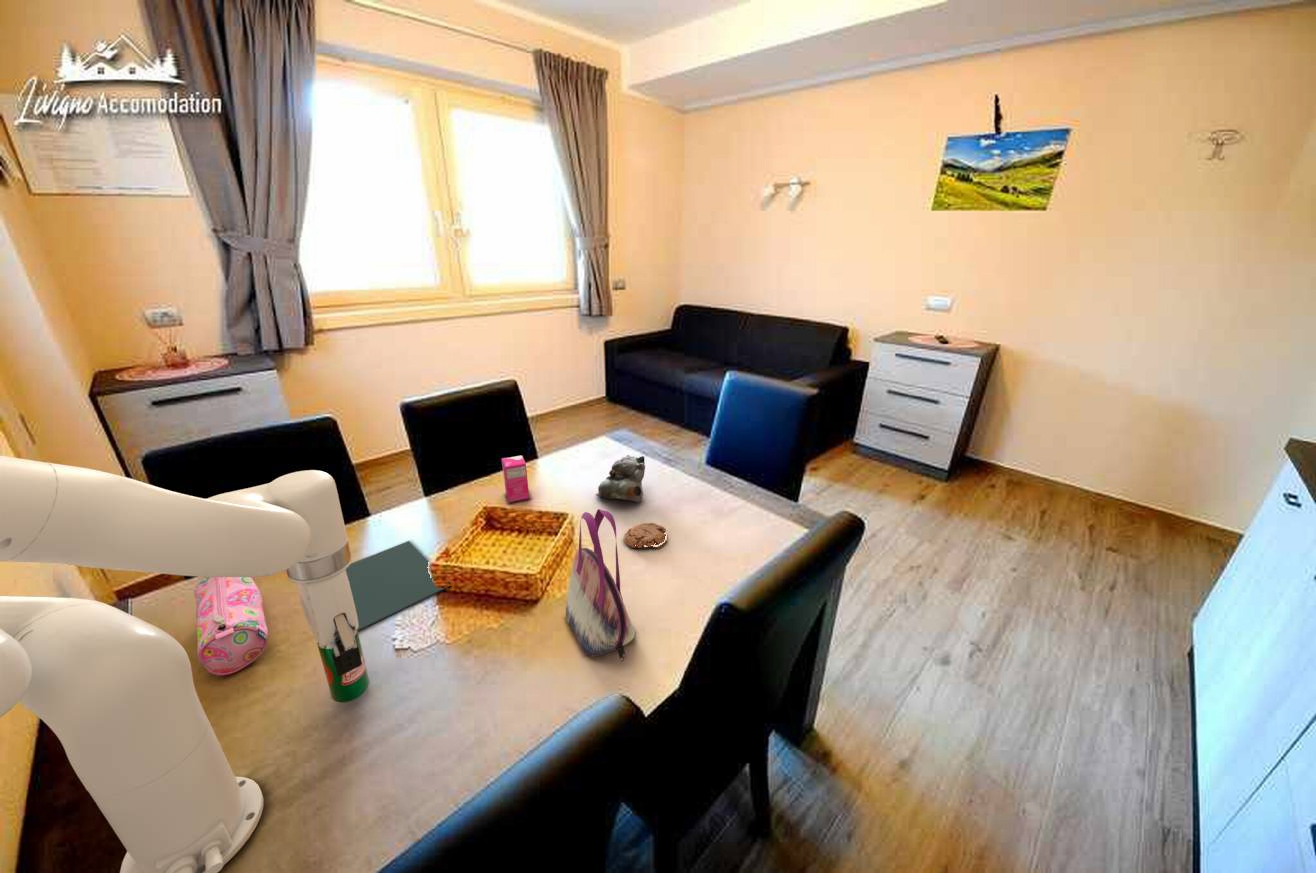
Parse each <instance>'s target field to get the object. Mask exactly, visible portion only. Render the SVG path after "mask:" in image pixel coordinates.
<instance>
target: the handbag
mask: <svg viewBox="0 0 1316 873" xmlns="http://www.w3.org/2000/svg"><path fill="white" fill-rule="evenodd" d="M604 518H606V520H607V521H608V522H609V523H610V525H611V527H612V529H613V533H614V538H615V539H617V525H616V521H615V518H614V517H613V515H612V514H611V512H609V511H608V510H605V509H604V510H603V509H600V508H597V510H596V513H595V515H594V516H593V515H592V514H591V513H590V512H587V511H585V512H583V513H582V515H581V518H580V522H579V534H578V535H579V537H578V549H577V550H576V552H575V554H574V556H573V561H572V566H571V571H570V578H569V582H568V583H569V584H568V591H567V598H566V603H565V604H566V606H565V616H566V621H567V623H568V625H569V627H570V629H571V630H572V633H573V634H574V636H575V638H576V640H577V642H578V643H579V646H580V647H581V649H582V651H583V653H584V654H585V655H586V656H587V657H598V656H603V655H606V654H608V653H611V652H614V651H617V652H618V656H619V660H620V662H621V663H623V662H625V659H626V658H627V654H626V652H625V648H624V646H625V645H627V644H629V643H631V642H632V641H633V640H634V639H635V637H636V633H635V628H634V626H633V623H632V621H631V618H630V617H629V614H628V611H627V609H626V605H625V603H624V600H623V596H622V591H621V576H620V566H619V554H618V553H619V552H618V544H617V542H615V579H614V578H613V576H612V574H611V571H610V570H609V568H608V567H607V566H606V564H605V562H604V555H603V551H602V546H601V542H600V537H599V529H600V526H601V524H602V522H603V520H604ZM582 519H583V520H584V521H585V523H586V525H587V529H588V532H589V537H590V539H591V542H592V545H593V550H592V549H590V548H589V547H582V546H583V545H582V526H581V525H582Z"/></svg>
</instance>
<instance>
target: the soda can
mask: <svg viewBox="0 0 1316 873" xmlns="http://www.w3.org/2000/svg"><path fill="white" fill-rule="evenodd" d="M336 632H338V631H337V630H335V633H336ZM353 633H354V636H355V639H356V642H357V644H358V648H359V652H360V657H361V661H362V664H361V666H359V667H357V668H355V669H353V670H351V671H349V672H347V673H345V674H343V675H341V676H338V675H337V673H336V670H335V666H334V662H333V658H332V654H333V653H334V652H333V648H332V645H331V643H328V644H326V645H325V646H324V645H320V644H319V643H318V642H317V648H318V652H319V656H320V659H321V663H322V666H323V671H324V674H325V678H326V681H327V685H328V688H329V693H330V696H331V699H332V700H333V701H334V702H335V703H340V704H346V703H351V702H353V701H355V700H357V699H359V698H360V697H361V696H363V695H364V694H365V693H366V691H367V689H369V686H370V678H369V674H368V669H367V666H366V661H365V656H364V653H363V648H362V644H361V639H360V635H359V631H358V630H356V631H354V630H353ZM336 642H337V646H339V645H340V644H341V639H340V638H339V639H336Z"/></svg>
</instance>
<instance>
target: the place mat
mask: <svg viewBox="0 0 1316 873" xmlns="http://www.w3.org/2000/svg"><path fill="white" fill-rule="evenodd" d="M428 562H430V561H429V560H428V559H427V558H426V557H425V556H424V555H423V554H422V553H421V552H420V551H419V550H418V549H417V548H416V547H415V546H414V544H412V543H411V541H409V540H407V541H405V542H402V543H400V544H398V545H395V546H391V547H390V548H388V549H385V550H382V551H380V552H378V553H377V552H376V553H375V554H372V555H369V556H367V557H365V558H362V559H360V560H357V561H354V562H351V564H350V565H349V566H348V568H347V569H345V570H346V573H347V577H348V581H349V583H350V588H351V592H352V596H353V600H354V604H355V608H356V613H357V618H358V625H359V627H358V629H357V630H358V632H361V631H363V630H364V629H367V628H369V627H370V626H373V625H375V624H378V623H379V622H381V621H383V620H385V619H387V618H389V617H391V616H393V615H395V614H397V613H400V612H402V611H403V610H406V609H407V608H410V607H411V606H414V605H416V604H418V603H420V602H422V601H424V600H426V599H428V598H430V597H432V596H435V595H437V594H439V593H440V592H442V591H443V592H444V590H447V589H448V588H441V587H440V588H439V587H436V586H435V585H434V583H433V581H432V578H430V574H429V573H428V568H427V567H428Z"/></svg>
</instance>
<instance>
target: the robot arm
mask: <svg viewBox="0 0 1316 873" xmlns="http://www.w3.org/2000/svg"><path fill="white" fill-rule="evenodd" d="M0 562H4V563H5V562H9V563H16V562H18V563H40V564H41V563H42V564H43V563H44V564H60V565H61V564H62V565H70V566H75V567H76V566H77V567H84V568H91V569H92V568H93V569H101V570H117V571H129V572H140V573H141V572H142V573H152V574H162V575H172V576H185V577H200V578H207V577H254V578H263V577H270V576H273V575H277V574H280V573H283V572H285V574H286V577H287V579H288V580H289V581H290V582H291V583H293V584H296V587H297V590H298V596H299V600H300V605H301V609H302V613H303V616H304V619H305V621H306V623H307V625H308V627H309V629H310V631H311V633H312V634H313V636H314V638H315V640H316V641H317V643H319V644H320V645H324V646H325V645H326V644H328V643H331V645H332V648H333V652H334V653H333V654H332V658H333V662H334V666H335V670H336V673H337V675H338V676H341V675H343V674H345V673H347V672H349V671H351V670H353V669H355V668H357V667H359V666H361V664H362V661H361V657H360V652H359V648H358V644H357V642H356V639H355V636H354V633H353V630H354V631H356V630H357V629H358V627H359V625H358V618H357V613H356V608H355V604H354V600H353V596H352V592H351V588H350V583H349V581H348V577H347V573H346V570H345V569H347V568H348V566H349V565H350V564H352V563H353V557H352V553H351V548H350V544H349V539H348V534H347V529H346V525H345V521H344V515H343V511H342V507H341V503H340V498H339V493H338V489H337V484H336V481H335V479H334V478H333V476H332V475H331V474H329V473H328V472H325V471H322V470H316V469H309V470H307V469H306V470H299V471H294V472H290V473H287V474H284V475H282V476H279V477H277V478H275V479H274V480H272V481H271V482H269V483H268V482H267V483H264V484H260V485H256V486H255V485H254V486H252V487H248V488H247V487H246V488H243V489H237V490H233V491H229V492H228V491H227V492H224V493H219V494H216V495H213V496H210V497H208V498H203V497H198V496H193V495H189V494H185V493H181V492H177V491H172V490H169V489H165V488H162V487H158V486H155V485H153V484H149V483H145V482H143V481H141V480H140V481H139V480H137V479H134V478H131V477H126V476H123V475H118V474H115V473H111V472H106V471H102V470H98V469H92V468H88V467H82V466H75V465H67V464H61V463H53V462H47V461H37V460H33V459H27V458H26V459H25V458H19V457H12V456H7V455H1V454H0ZM335 630H337V631H338V632H336V633H335ZM339 638H340V639H341V644H340V645H339V646H337V642H336V639H339ZM18 703H19V704H20V705H21V706H22V707H24V708H25V709H26V710H28V711H29V712H31V713H32V714H34V715H35V716H36V717H38V718H39V719H40V720H42V722H43V723H45V724H46V725H47V727H48V728H49V729H50V730H51V731H52V732H53V734H55V736H56V737H57V739H58V740H59V741H60V743H61V746H62V747H63V749H64V751H65V752H64V753H65V754H66V757H67V759H68V761H69V764H70V765H71V767H72V769H73V771H74V773H75V774H76V776H77V777H78V779H79V781H80V782H81V783H82V785H83V786H84V789H85V790H86V791H87V792H88V793H89V795H90V797H91V798H92V799H93V802H95V804H96V805H97V807H98V809H99V810H100V812H101V813H102V815H103V816H104V818H105V819H106V820H107V822H108V824H109V825H110V827H111V828H112V830H113V832H114V833H115V835H116V836H117V838H118V839H119V841H120V843H122V845H123V847H124V848H125V849H126V853H125V855H124V857H123V860H122V861H121V866H120V870H119V873H219V872H220V871H222V870H223V867H224V866H225V865H226V864H227V863H228V862H229V861H231V859H233V857H235V855H236V854H237V853H238V852H239V851H240V850H241V849H242V848H243V847H244V845H245V844H246V842H247V841H248V840H249V839H250V838H251V836H252V835H253V832H254V831H255V829H256V828H257V826H258V823H259V821H260V820H261V817H262V813H263V810H264V795H263V792H262V789H261V788H260V786H259V784H258V783H257V782H255V780H253V779H251V778H248V777H245V776H235V773H234V772H233V769H232V768H231V765H230V763H229V761H228V759H227V756H226V755H225V752H224V750H223V749H222V748H223V747H222V746H221V744H220V742H219V740H218V737H217V735H216V733H215V731H214V728H213V727H212V724H211V722H210V720H209V719H208V716H207V714H206V712H205V710H204V708H203V705H202V703H201V701H200V698H199V695H198V693H197V690H196V687H195V683H194V678H193V671H192V665H191V661H190V658H189V655H188V653H187V652H186V650H185V648H184V647H183V646H182V644H181V643H180V641H178V640H177V639H176V638H174V637H173V636H172V635H171V634H170V633H168V632H166V631H164V630H163V629H162V628H159V627H158V626H155V625H154V624H152V623H149V622H147V621H145V620H143V619H141V618H139V617H137V616H134V615H131V614H129V613H127V612H126V611H123V610H121V609H119V608H118V607H115V606H113V605H110V604H107V603H105V602H101V601H98V600H94V599H87V598H77V597H76V598H75V597H58V596H57V597H55V596H24V595H23V596H22V595H21V596H20V595H19V596H17V595H0V718H2V717H4V716H5V715H6V714H7V713H9V712H10V711H12V709H13V708H14V707H15V706H17V704H18Z"/></svg>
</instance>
